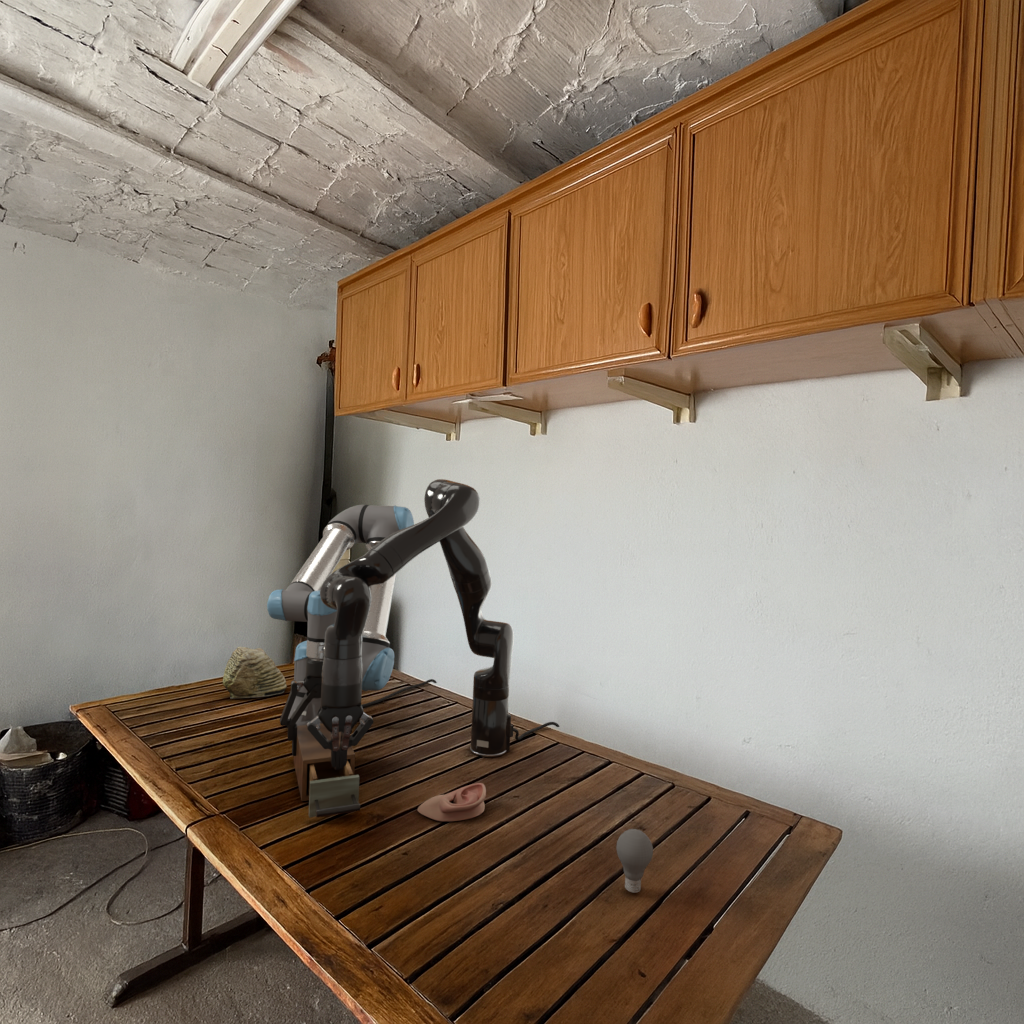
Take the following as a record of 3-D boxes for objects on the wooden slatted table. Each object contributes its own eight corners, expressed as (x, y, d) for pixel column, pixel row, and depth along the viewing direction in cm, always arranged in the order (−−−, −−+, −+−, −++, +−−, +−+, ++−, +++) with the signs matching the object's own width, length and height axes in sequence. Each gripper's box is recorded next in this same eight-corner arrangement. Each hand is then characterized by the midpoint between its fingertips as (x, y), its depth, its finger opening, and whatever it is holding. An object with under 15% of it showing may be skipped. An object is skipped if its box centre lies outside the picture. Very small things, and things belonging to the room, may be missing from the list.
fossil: (218, 695, 195) (220, 647, 195) (278, 685, 208) (279, 640, 207) (228, 703, 189) (230, 653, 188) (289, 692, 201) (290, 645, 201)
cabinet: (353, 794, 136) (355, 754, 135) (301, 801, 131) (302, 760, 131) (339, 756, 154) (340, 721, 154) (293, 762, 150) (294, 726, 150)
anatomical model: (412, 797, 126) (431, 773, 138) (411, 817, 126) (430, 791, 138) (476, 807, 124) (490, 781, 135) (476, 827, 124) (489, 800, 135)
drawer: (363, 823, 122) (364, 789, 121) (312, 832, 118) (313, 796, 118) (343, 770, 145) (344, 741, 144) (300, 776, 141) (301, 746, 141)
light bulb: (610, 879, 108) (613, 822, 108) (644, 879, 109) (647, 822, 109) (619, 902, 102) (622, 840, 102) (655, 901, 103) (658, 840, 103)
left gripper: (271, 664, 140) (267, 763, 140) (375, 658, 149) (372, 751, 150) (269, 656, 147) (266, 750, 147) (369, 650, 156) (366, 739, 156)
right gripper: (308, 686, 115) (304, 781, 116) (380, 681, 121) (376, 771, 121) (304, 675, 122) (300, 764, 123) (372, 671, 128) (369, 756, 128)
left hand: (319, 750), depth 148 cm, fingers closed on cabinet, 11 cm apart
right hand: (338, 767), depth 122 cm, fingers closed
